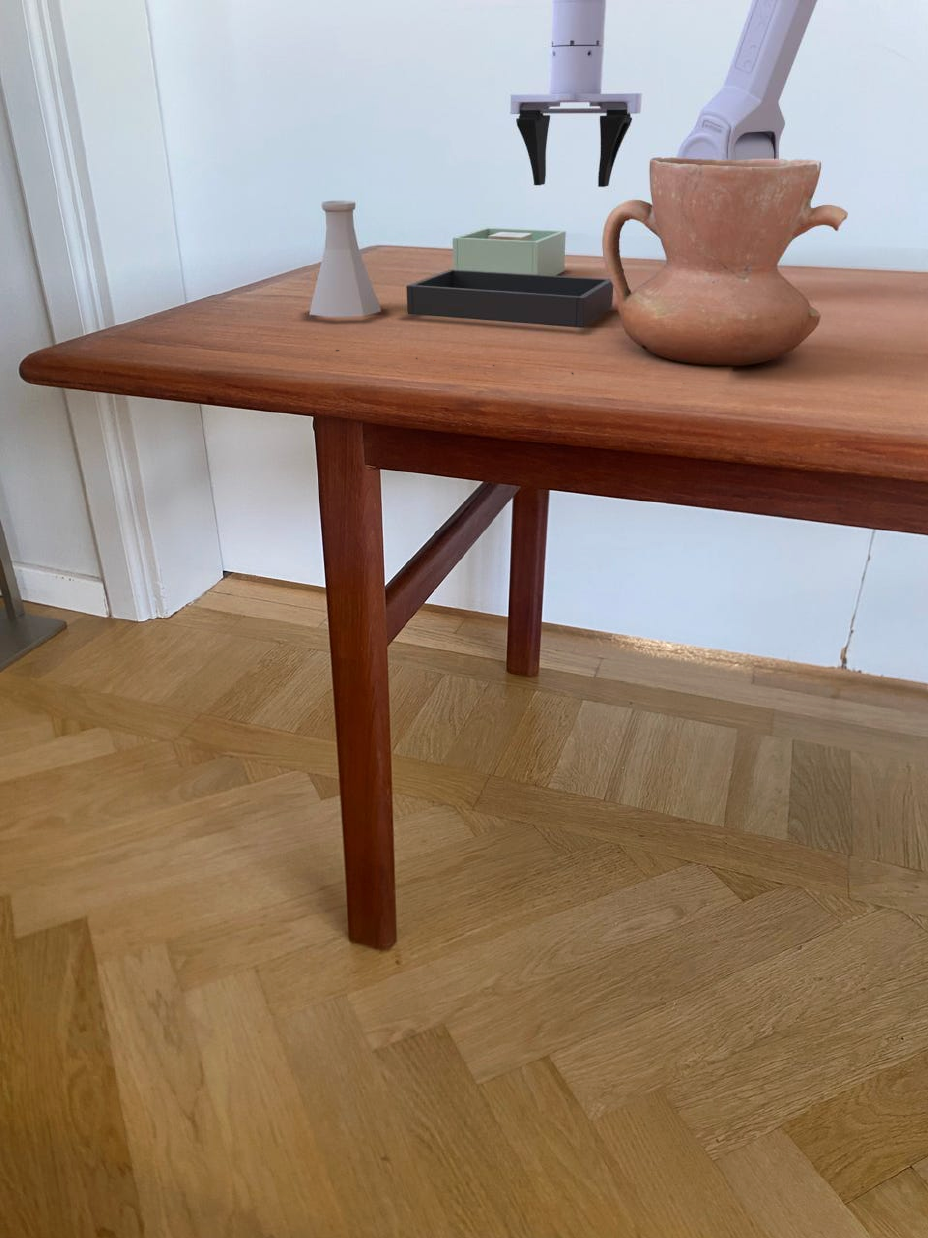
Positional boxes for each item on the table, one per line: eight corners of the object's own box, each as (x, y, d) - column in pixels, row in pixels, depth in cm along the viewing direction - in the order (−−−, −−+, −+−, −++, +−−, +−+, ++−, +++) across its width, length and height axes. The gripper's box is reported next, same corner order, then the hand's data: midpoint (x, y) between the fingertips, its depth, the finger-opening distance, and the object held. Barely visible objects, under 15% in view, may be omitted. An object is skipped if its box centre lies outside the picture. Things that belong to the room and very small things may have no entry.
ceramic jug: (835, 347, 76) (870, 155, 70) (802, 390, 65) (840, 167, 58) (626, 327, 84) (640, 151, 77) (565, 362, 73) (574, 161, 66)
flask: (371, 323, 86) (364, 206, 81) (297, 320, 87) (286, 205, 82) (391, 308, 92) (387, 198, 87) (322, 306, 93) (314, 197, 88)
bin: (564, 271, 111) (565, 230, 109) (536, 285, 103) (538, 241, 101) (485, 266, 115) (485, 227, 113) (452, 279, 107) (452, 237, 104)
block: (531, 269, 110) (532, 232, 108) (520, 274, 106) (521, 237, 104) (499, 267, 111) (500, 231, 109) (487, 272, 108) (488, 235, 106)
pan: (611, 311, 90) (614, 279, 89) (582, 332, 82) (584, 297, 81) (449, 299, 96) (449, 269, 95) (407, 318, 88) (406, 285, 86)
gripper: (501, 47, 99) (500, 186, 106) (634, 43, 95) (624, 189, 101) (523, 49, 105) (520, 181, 112) (649, 46, 100) (639, 184, 107)
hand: (571, 185), depth 107 cm, fingers open, 7 cm apart
